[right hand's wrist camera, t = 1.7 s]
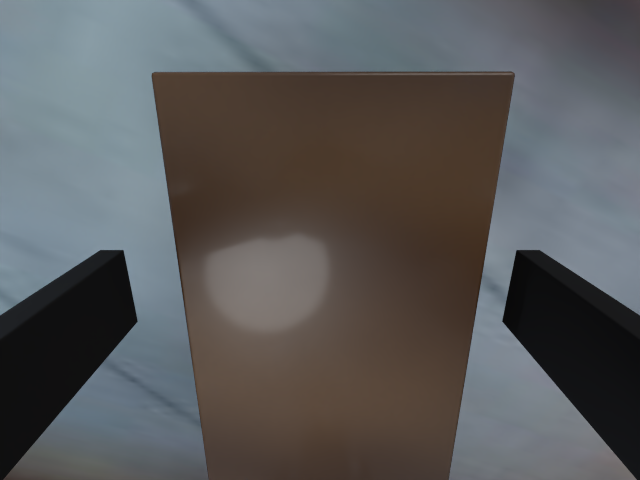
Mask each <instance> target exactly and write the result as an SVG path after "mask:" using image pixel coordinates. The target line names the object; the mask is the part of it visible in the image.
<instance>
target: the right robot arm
mask: <svg viewBox="0 0 640 480" xmlns="http://www.w3.org/2000/svg"><path fill="white" fill-rule="evenodd" d="M137 322H138V321H137V316H136V311H135V306H134V301H133V296H132V291H131V286H130V281H129V276H128V271H127V266H126V261H125V256H124V251H123V250H100V251H99V252H97V253H95V254H94V255H92V256H91V257H89V258H88V259H86V260H85V261H83V262H82V263H80V264H79V265H77V266H75V267H74V268H72V269H71V270H69V271H68V272H66V273H65V274H63V275H62V276H60V277H59V278H57V279H56V280H54V281H52V282H51V283H49V284H48V285H46V286H45V287H43V288H42V289H40V290H39V291H37V292H36V293H34V294H32V295H31V296H29V297H28V298H26V299H25V300H23V301H22V302H20V303H19V304H17V305H16V306H14V307H13V308H11V309H9V310H8V311H6V312H5V313H3V314H2V315H0V480H3V479H4V478H5V477H6V475H7V474H8V473H9V472H10V471H11V470H12V468H13V467H14V466H15V465H16V464H17V463H18V461H19V460H20V459H21V458H22V457H23V455H24V454H25V453H26V452H27V451H28V450H29V448H30V447H31V446H32V445H33V444H34V443H35V441H36V440H37V439H38V438H39V437H40V436H41V434H42V433H43V432H44V431H45V430H46V428H47V427H48V426H49V425H50V424H51V423H52V421H53V420H54V419H55V418H56V417H57V416H58V414H59V413H60V412H61V411H62V410H63V408H64V407H65V406H66V405H67V404H68V403H69V401H70V400H71V399H72V398H73V397H74V396H75V394H76V393H77V392H78V391H79V390H80V389H81V387H82V386H83V385H84V384H85V383H86V381H87V380H88V379H89V378H90V377H91V376H92V374H93V373H94V372H95V371H96V370H97V369H98V367H99V366H100V365H101V364H102V363H103V362H104V360H105V359H106V358H107V357H108V356H109V354H110V353H111V352H112V351H113V350H114V349H115V347H116V346H117V345H118V344H119V343H120V342H121V340H122V339H123V338H124V337H125V336H126V335H127V333H128V332H129V331H130V330H131V329H132V327H133V326H134V325H135V324H136V323H137ZM502 322H503V323H504V324H505V325H506V326H507V327H508V329H509V330H510V331H511V332H512V333H513V335H514V336H515V337H516V338H517V339H518V340H519V342H520V343H521V344H522V345H523V346H524V347H525V349H526V350H527V351H528V352H529V353H530V354H531V356H532V357H533V358H534V359H535V360H536V362H537V363H538V364H539V365H540V366H541V367H542V369H543V370H544V371H545V372H546V373H547V374H548V376H549V377H550V378H551V379H552V380H553V381H554V383H555V384H556V385H557V386H558V387H559V389H560V390H561V391H562V392H563V393H564V394H565V396H566V397H567V398H568V399H569V400H570V401H571V403H572V404H573V405H574V406H575V407H576V408H577V410H578V411H579V412H580V413H581V414H582V416H583V417H584V418H585V419H586V420H587V421H588V423H589V424H590V425H591V426H592V427H593V428H594V430H595V431H596V432H597V433H598V434H599V436H600V437H601V438H602V439H603V440H604V441H605V443H606V444H607V445H608V446H609V447H610V448H611V450H612V451H613V452H614V453H615V454H616V455H617V457H618V458H619V459H620V460H621V461H622V463H623V464H624V465H625V466H626V467H627V468H628V470H629V471H630V472H631V473H632V474H633V475H634V477H635V478H636V479H637V480H640V315H638V314H637V313H635V312H634V311H632V310H631V309H629V308H627V307H626V306H624V305H623V304H621V303H620V302H618V301H617V300H615V299H614V298H612V297H611V296H609V295H608V294H606V293H604V292H603V291H601V290H600V289H598V288H597V287H595V286H594V285H592V284H591V283H589V282H588V281H586V280H584V279H583V278H581V277H580V276H578V275H577V274H575V273H574V272H572V271H571V270H569V269H568V268H566V267H565V266H563V265H561V264H560V263H558V262H557V261H555V260H554V259H552V258H551V257H549V256H548V255H546V254H545V253H543V252H541V251H540V250H517V251H516V256H515V261H514V266H513V271H512V276H511V281H510V286H509V291H508V296H507V301H506V306H505V311H504V316H503V321H502Z"/></svg>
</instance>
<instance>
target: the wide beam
mask: <svg viewBox="0 0 640 480" xmlns="http://www.w3.org/2000/svg"><path fill="white" fill-rule="evenodd" d="M514 77H515V74H514V73H513V72H154V73H152V82H153V89H154V96H155V103H156V110H157V117H158V124H159V131H160V138H161V146H162V153H163V160H164V167H165V174H166V181H167V188H168V195H169V202H170V209H171V216H172V223H173V230H174V237H175V244H176V251H177V258H178V265H179V272H180V279H181V286H182V293H183V301H184V308H185V315H186V322H187V329H188V336H189V343H190V350H191V357H192V364H193V371H194V378H195V385H196V392H197V399H198V406H199V413H200V420H201V427H202V434H203V441H204V448H205V456H206V463H207V470H208V477H209V480H448V479H449V473H450V467H451V461H452V454H453V448H454V442H455V436H456V430H457V424H458V418H459V412H460V406H461V400H462V394H463V387H464V381H465V375H466V369H467V363H468V357H469V351H470V345H471V339H472V333H473V327H474V320H475V314H476V308H477V302H478V296H479V290H480V284H481V278H482V272H483V266H484V260H485V253H486V247H487V241H488V235H489V229H490V223H491V217H492V211H493V205H494V199H495V193H496V186H497V180H498V174H499V168H500V162H501V156H502V150H503V144H504V138H505V132H506V126H507V119H508V113H509V107H510V101H511V95H512V89H513V83H514Z"/></svg>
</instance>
